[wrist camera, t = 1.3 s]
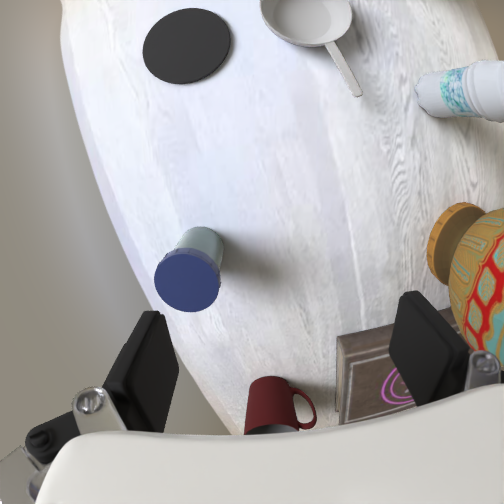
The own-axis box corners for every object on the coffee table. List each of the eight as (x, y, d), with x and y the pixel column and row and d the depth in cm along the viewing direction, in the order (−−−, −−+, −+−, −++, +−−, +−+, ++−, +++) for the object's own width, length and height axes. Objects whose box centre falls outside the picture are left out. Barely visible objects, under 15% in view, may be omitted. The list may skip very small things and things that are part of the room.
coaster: (144, 19, 25) (143, 17, 25) (228, 4, 25) (228, 2, 25) (145, 91, 30) (143, 90, 29) (232, 78, 29) (231, 77, 29)
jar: (176, 228, 37) (154, 257, 28) (221, 225, 37) (211, 254, 28) (183, 269, 39) (165, 306, 31) (225, 267, 39) (218, 306, 30)
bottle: (444, 125, 30) (553, 140, 12) (407, 110, 30) (519, 109, 12) (448, 83, 28) (552, 77, 9) (411, 66, 28) (515, 40, 9)
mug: (306, 364, 46) (315, 414, 36) (312, 393, 50) (321, 439, 39) (239, 378, 48) (236, 428, 37) (252, 405, 51) (252, 451, 41)
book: (334, 410, 52) (339, 428, 48) (336, 334, 44) (343, 354, 39) (454, 373, 50) (463, 387, 45) (479, 295, 41) (493, 308, 37)
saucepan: (318, -22, 23) (324, -34, 19) (383, 88, 29) (396, 84, 26) (244, 0, 25) (243, -13, 21) (311, 114, 31) (318, 112, 28)
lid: (153, 248, 29) (148, 255, 28) (217, 245, 29) (215, 252, 27) (165, 304, 32) (161, 312, 30) (223, 303, 32) (222, 312, 30)
